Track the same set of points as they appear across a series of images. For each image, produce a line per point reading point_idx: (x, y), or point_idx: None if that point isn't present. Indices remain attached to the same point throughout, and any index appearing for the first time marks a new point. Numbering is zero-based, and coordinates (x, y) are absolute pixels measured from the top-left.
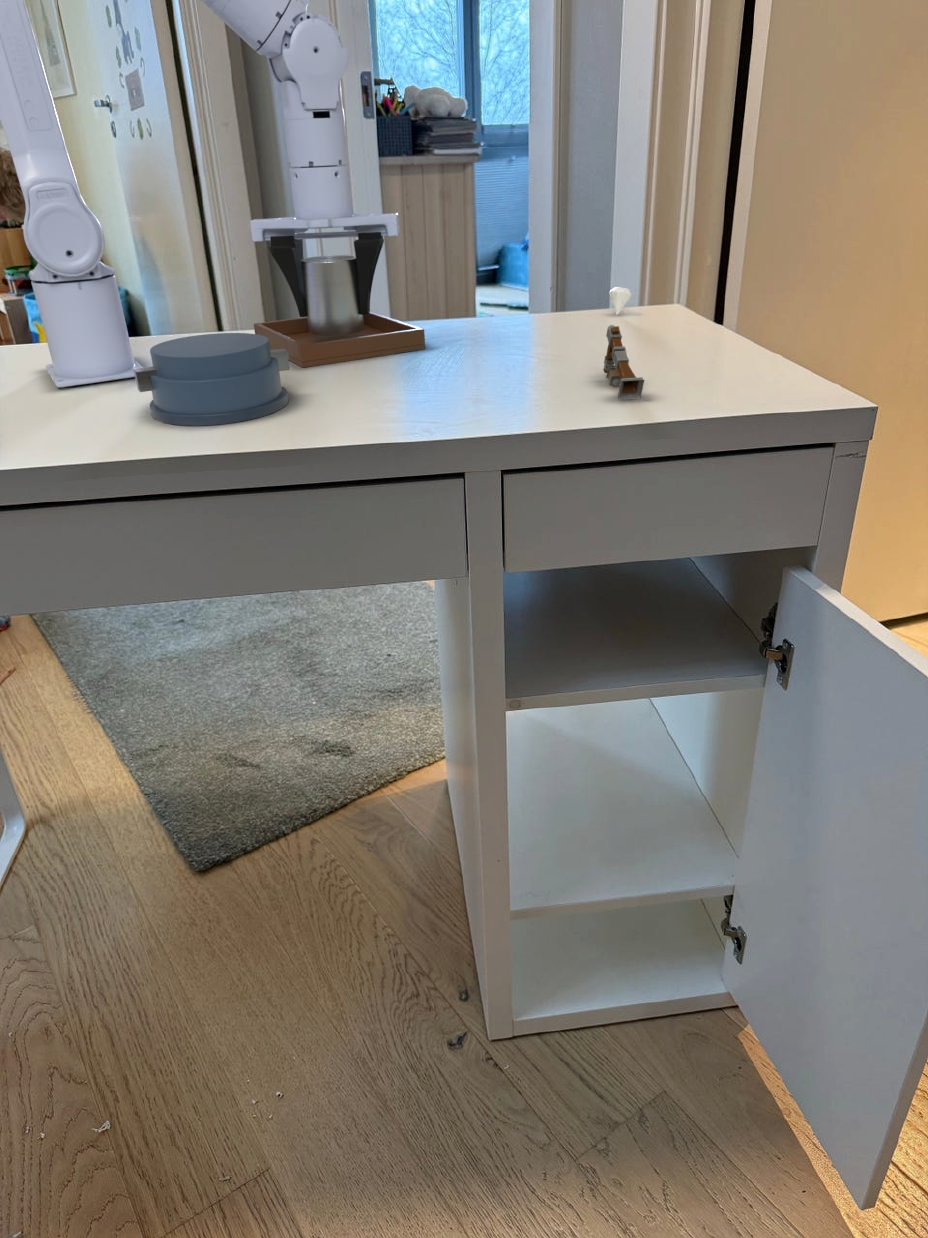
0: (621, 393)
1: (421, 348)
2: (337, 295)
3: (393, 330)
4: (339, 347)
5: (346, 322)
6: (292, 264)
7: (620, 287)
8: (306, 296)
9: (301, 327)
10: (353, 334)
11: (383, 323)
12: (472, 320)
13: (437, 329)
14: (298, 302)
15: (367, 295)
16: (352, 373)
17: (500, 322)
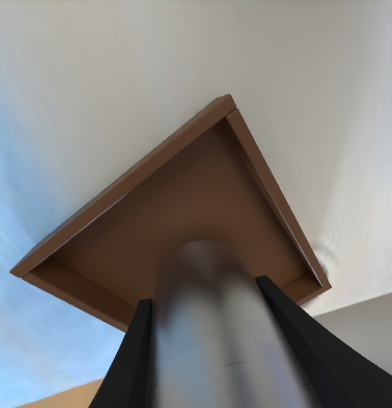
0: None
1: (38, 243)
2: (188, 309)
3: (119, 305)
4: (152, 153)
5: (172, 265)
6: (357, 394)
7: None
8: (267, 306)
9: None
10: None
11: None
12: (64, 382)
13: (88, 345)
14: (280, 293)
15: (124, 336)
16: (82, 25)
17: (17, 381)
